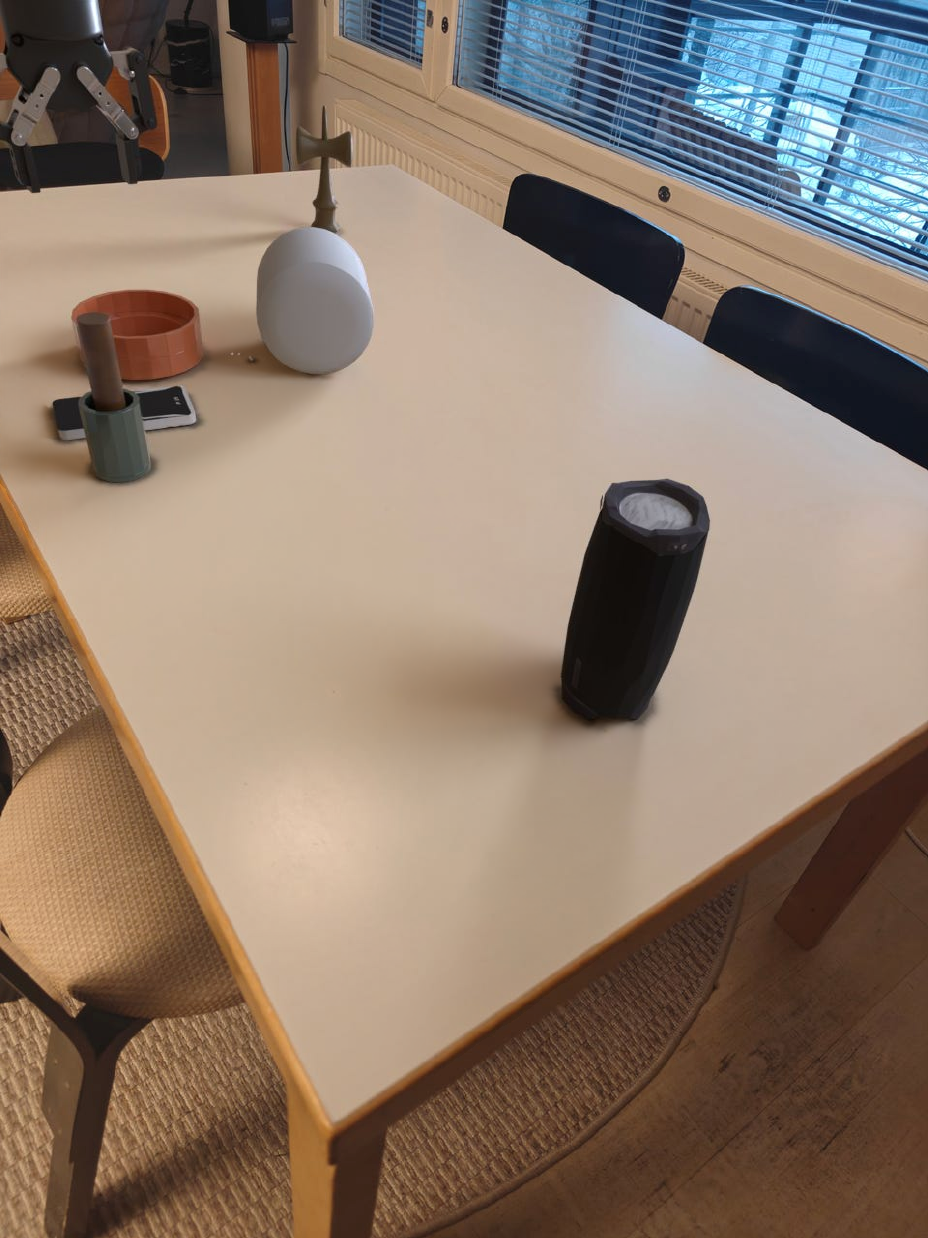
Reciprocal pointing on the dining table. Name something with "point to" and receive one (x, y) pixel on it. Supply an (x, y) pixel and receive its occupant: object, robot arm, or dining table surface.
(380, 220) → the dining table surface
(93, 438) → the holder
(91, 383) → the stirring stick
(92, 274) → the dining table surface
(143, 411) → the smartphone
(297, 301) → the white oval cylinder
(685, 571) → the portable speaker
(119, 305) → the bowl
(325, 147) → the kendama
